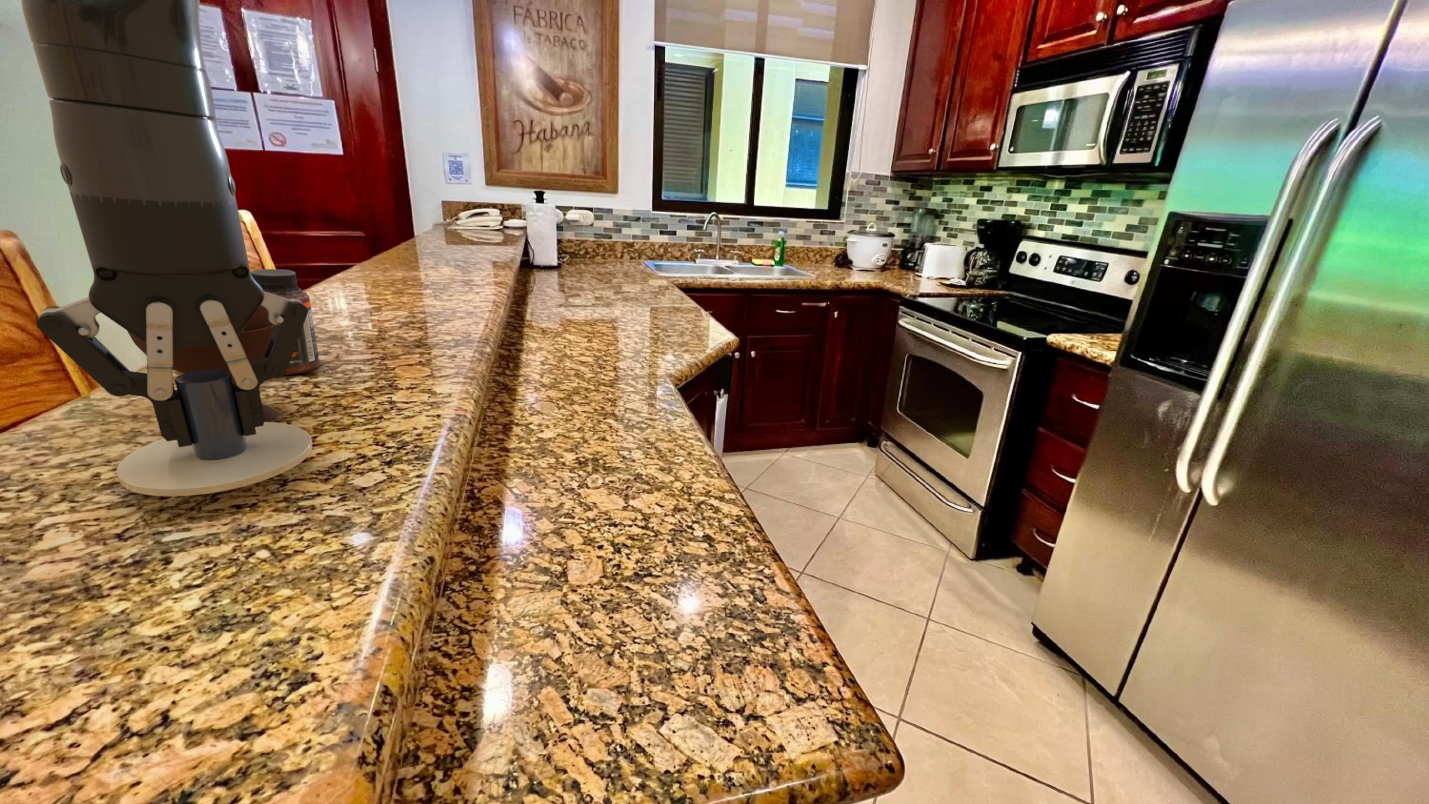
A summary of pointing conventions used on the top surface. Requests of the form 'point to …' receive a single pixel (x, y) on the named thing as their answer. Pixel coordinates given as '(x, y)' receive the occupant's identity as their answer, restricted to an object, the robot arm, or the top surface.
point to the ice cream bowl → (211, 357)
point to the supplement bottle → (306, 345)
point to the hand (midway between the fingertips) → (217, 436)
